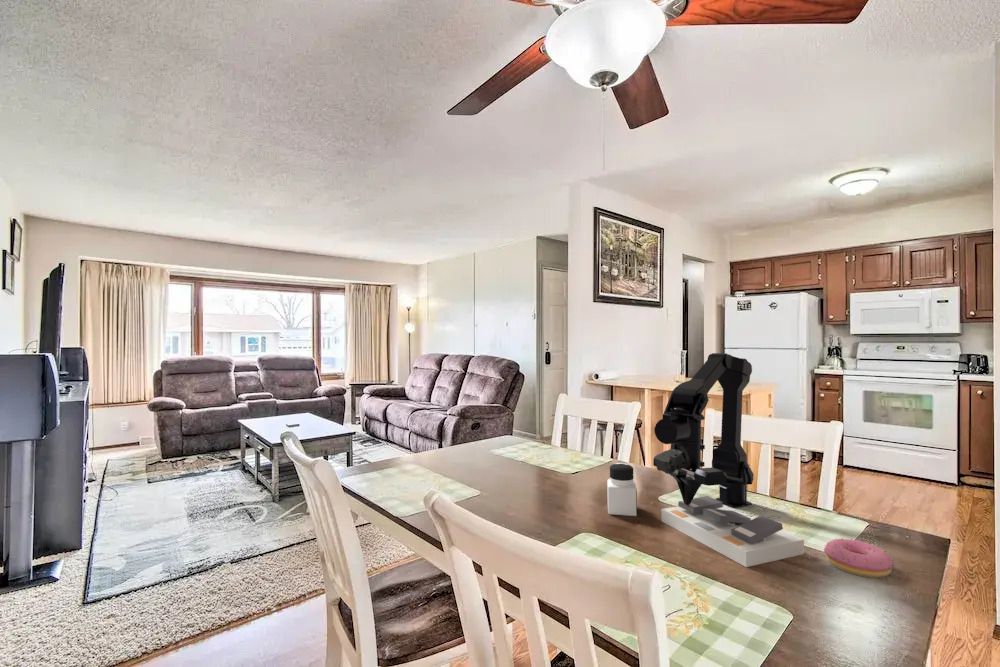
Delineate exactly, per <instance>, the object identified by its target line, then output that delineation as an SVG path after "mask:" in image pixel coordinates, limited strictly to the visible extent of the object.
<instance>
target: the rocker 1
mask: <svg viewBox="0 0 1000 667" xmlns="http://www.w3.org/2000/svg"><path fill="white" fill-rule="evenodd" d="M677 503H678V504H677V505H678V506H679V507H681V508H683V509H685V510H687V511H689V512H691V513H693V514H694V513H698V512H703V508H705V509H717V508H722V507H723V506H724V503H723V502H721V501H718V500H716V498H714V497H711V496H709V495H704V496H699V497H694V498H693V500H692V501H691V503H690V504H689V505H686V504H684V501H683V500H680V501H678V502H677Z"/></svg>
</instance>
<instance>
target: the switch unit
mask: <svg viewBox="0 0 1000 667" xmlns="http://www.w3.org/2000/svg"><path fill="white" fill-rule="evenodd" d="M717 510H729V511H735V512H737V513H739V514H742V515H744V516H746V517H749V518H751V520H752V519H755V518H754V517H752V516H748V515H747V514H744V513H741V512H739V511H736V510H734V509H732V508H730V507H728V506H725V505H723V507H722V508H717ZM660 512H661V517H660V518H661V522H662V523H665V524H666V525H668V526H670V527H671V528H673V529H675V530H677V531H679V532H681V533H682V534H685V535H686V536H688V537H690V538H691V539H693V540H695V541H697V542H699V543H701V544H703V545H704V546H706V547H707V548H708V547H709V549H712V550H714V551H715V552H717V553H719V554H721V555H723V556H725V557H727V558H729V559H731V560H732V561H733V562H736V563H738V564H740V565H741V566H743V567H745V568H748V567H754V566H757V565H761V564H767V563H770V562H775V561H776V562H777V561H780V560H783V559H787V558H793V557H796V556H801V555H804V554H805V539H803V538H801V537H798V536H796V535H793V534H792V533H788V532H786V531H784V530H783V529H782V530H780V531H778V532H776V533H774V534H772V535H770V536H768V537H766V538H764V539H762V540H760V541H758V542H756V543H753V544H750V543H748V542H746V541H743V540H741V539H739V538H737V537H735V536H733V535H732V533H731V529H733V528H735V527H737V526H739V525H742V524H744V523H733V522H720V521H718V520H715V519H713V518H711V517H709V516H707V515H705V514H703V512H698V513H694V514H693V513H691V512H689V511H687V510H685V509H683V508H681V507H679V505H678V506H671V507H665V508H661V511H660Z"/></svg>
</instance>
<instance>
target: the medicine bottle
mask: <svg viewBox="0 0 1000 667" xmlns="http://www.w3.org/2000/svg"><path fill="white" fill-rule="evenodd" d="M606 481H607V482H606V483H607V484H606V488H607V493H606V494H607V514H608V515H611V516H612V515H615V516H627V517H629V516H631V517H637V516H638V509H637V508H638V496H637V495H638V493H637V492H638V489H637V487H636V482H635V480H634V467H633V466H632V465H630V464H628V463H622V462H621V463H620V462H617V463H613V464H610V465H609V478H608V479H607V480H606Z"/></svg>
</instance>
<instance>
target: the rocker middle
mask: <svg viewBox="0 0 1000 667" xmlns="http://www.w3.org/2000/svg"><path fill="white" fill-rule="evenodd" d="M735 511H736V510H735ZM735 511H729V510H717V509H705V508H703V514H705V515H707V516H709V517H711V518H713V519H715V520H718V521H720V522H733V523H746V522H748V521H750V520H751V518H752V517H751V518H749V517H750V516H749V517H746V516H744V515H745V514H744V515H742V514H743V513H742V514H739V513H740V512H739V513H737V512H738V511H737V512H735Z"/></svg>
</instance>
